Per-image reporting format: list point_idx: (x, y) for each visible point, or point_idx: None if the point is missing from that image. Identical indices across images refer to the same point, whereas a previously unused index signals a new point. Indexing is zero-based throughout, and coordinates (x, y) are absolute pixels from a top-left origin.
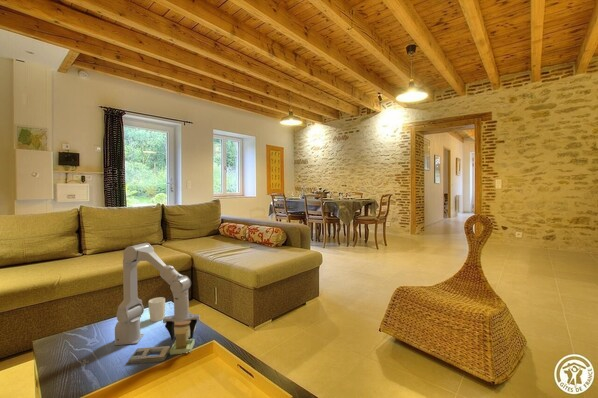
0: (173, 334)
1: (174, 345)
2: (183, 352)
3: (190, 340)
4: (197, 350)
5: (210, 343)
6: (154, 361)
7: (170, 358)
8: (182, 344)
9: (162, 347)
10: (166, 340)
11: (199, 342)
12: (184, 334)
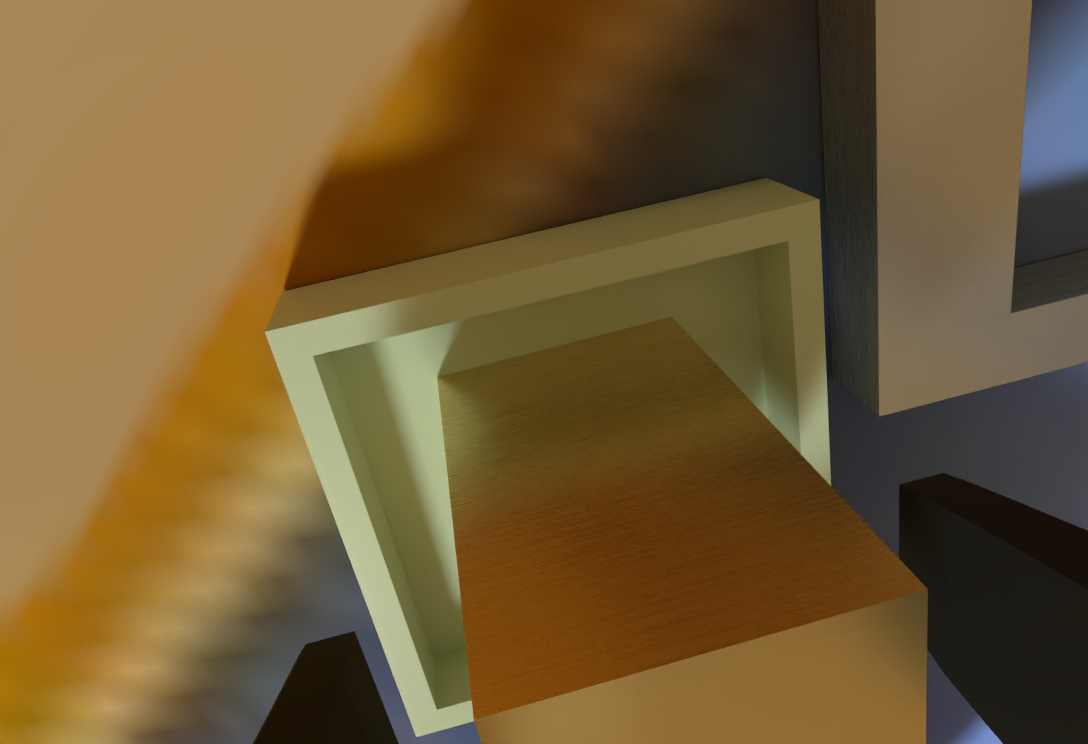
0: (993, 642)
1: None
2: (448, 262)
3: None
4: (164, 424)
5: (28, 707)
6: None
7: (685, 15)
8: (548, 422)
9: (1038, 334)
10: None
11: None
12: (530, 667)
